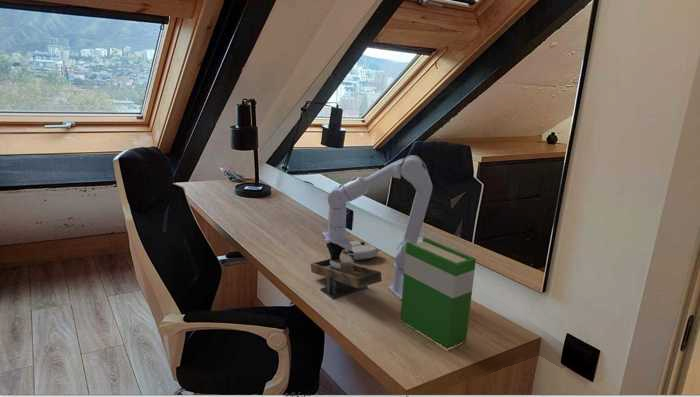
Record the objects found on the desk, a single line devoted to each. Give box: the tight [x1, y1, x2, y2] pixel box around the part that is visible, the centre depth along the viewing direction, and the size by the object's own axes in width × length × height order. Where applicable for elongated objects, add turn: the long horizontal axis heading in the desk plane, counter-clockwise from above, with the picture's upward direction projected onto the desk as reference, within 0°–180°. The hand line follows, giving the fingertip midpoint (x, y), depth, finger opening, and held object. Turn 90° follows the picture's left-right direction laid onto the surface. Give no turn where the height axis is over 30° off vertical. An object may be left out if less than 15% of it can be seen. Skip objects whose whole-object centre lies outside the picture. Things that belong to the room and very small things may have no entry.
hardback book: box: [400, 237, 477, 349], centre depth 125 cm, size 18×7×24 cm, turn 37°
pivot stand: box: [319, 275, 369, 300], centre depth 150 cm, size 7×14×6 cm, turn 127°
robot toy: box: [342, 240, 383, 261], centre depth 178 cm, size 12×4×15 cm
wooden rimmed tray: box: [310, 258, 383, 288], centre depth 149 cm, size 26×9×3 cm, turn 37°
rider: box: [330, 257, 354, 274], centre depth 150 cm, size 7×5×5 cm
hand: (335, 263), depth 153 cm, fingers closed, pressing on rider
